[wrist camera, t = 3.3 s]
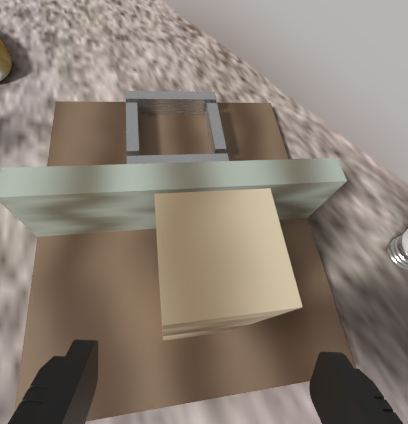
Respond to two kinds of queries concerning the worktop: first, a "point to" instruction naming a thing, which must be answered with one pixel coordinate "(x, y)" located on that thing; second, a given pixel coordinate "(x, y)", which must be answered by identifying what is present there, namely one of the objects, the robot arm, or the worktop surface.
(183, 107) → the keeper socket
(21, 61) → the worktop surface
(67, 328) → the door mockup
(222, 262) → the block
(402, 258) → the light bulb
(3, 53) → the pastry
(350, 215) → the worktop surface
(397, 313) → the worktop surface
